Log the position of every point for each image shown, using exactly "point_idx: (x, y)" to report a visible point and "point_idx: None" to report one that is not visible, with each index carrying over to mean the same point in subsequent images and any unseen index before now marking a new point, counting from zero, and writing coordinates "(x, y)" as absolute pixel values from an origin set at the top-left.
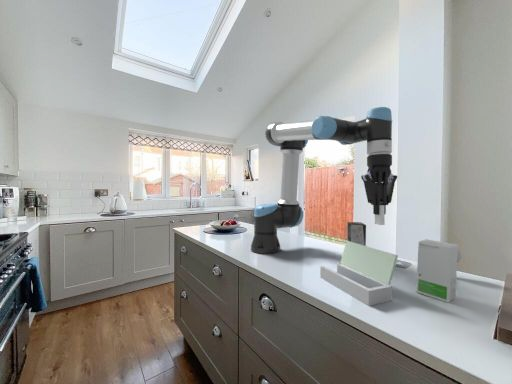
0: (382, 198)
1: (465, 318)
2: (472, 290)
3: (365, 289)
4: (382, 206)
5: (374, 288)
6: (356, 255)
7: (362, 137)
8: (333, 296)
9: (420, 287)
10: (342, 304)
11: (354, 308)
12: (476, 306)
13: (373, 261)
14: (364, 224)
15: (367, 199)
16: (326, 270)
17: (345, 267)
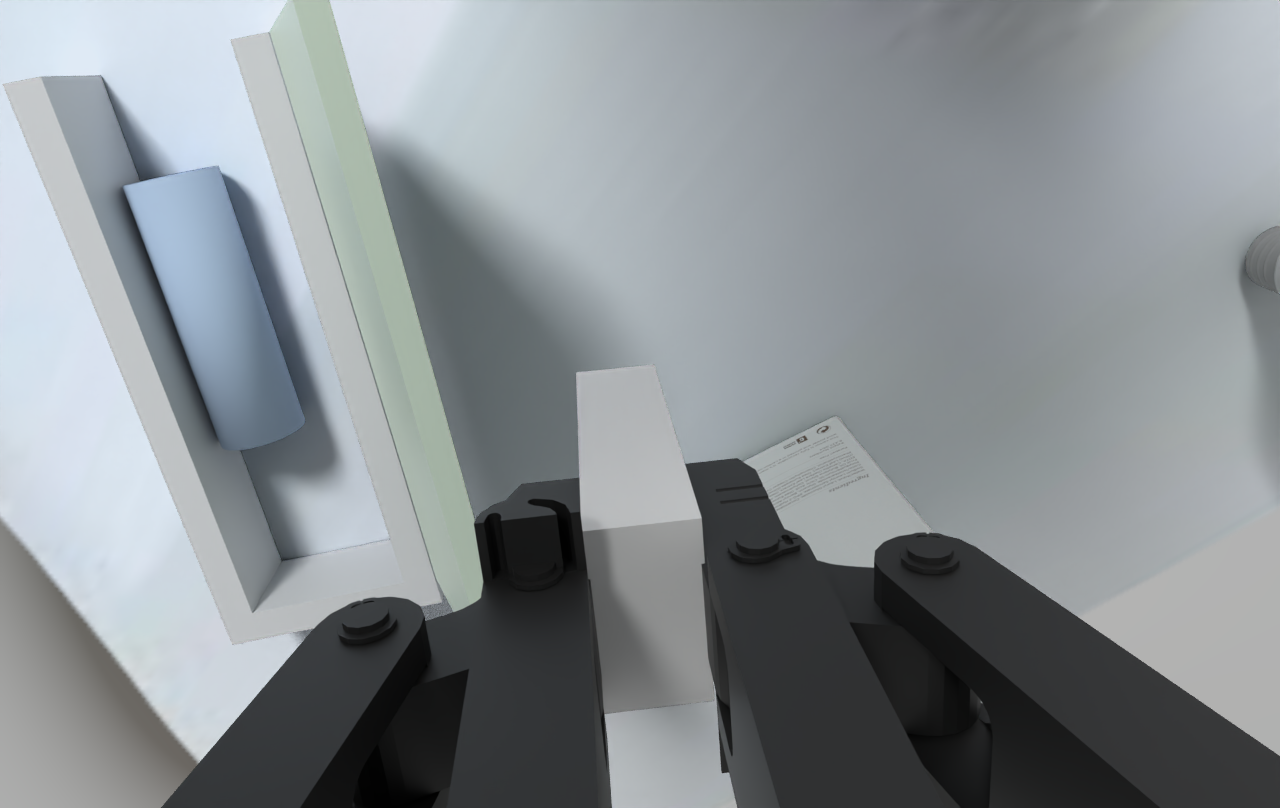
0: (740, 776)
1: (698, 740)
2: (1116, 489)
3: (224, 619)
4: (651, 692)
5: (295, 616)
6: (348, 244)
7: None
8: (74, 453)
9: None
10: (99, 557)
11: (158, 606)
12: None
13: (414, 461)
14: None
15: (282, 671)
16: (53, 188)
17: (277, 168)
